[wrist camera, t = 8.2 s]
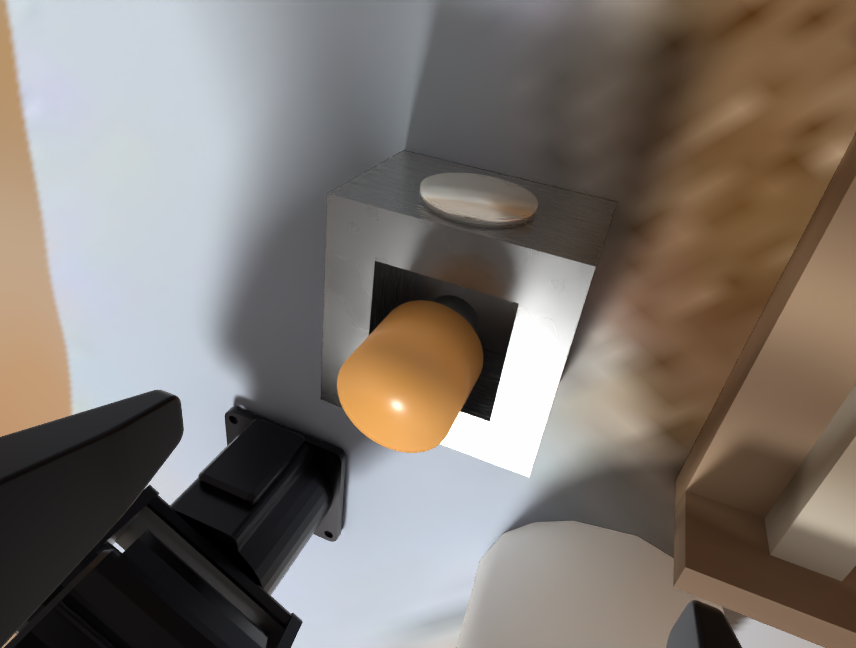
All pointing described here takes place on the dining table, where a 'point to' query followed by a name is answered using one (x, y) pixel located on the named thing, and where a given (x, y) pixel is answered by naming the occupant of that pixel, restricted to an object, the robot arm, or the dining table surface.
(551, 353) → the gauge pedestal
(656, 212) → the dining table surface
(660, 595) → the teardrop
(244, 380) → the dining table surface
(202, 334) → the dining table surface
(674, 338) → the dining table surface
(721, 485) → the rail
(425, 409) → the button
